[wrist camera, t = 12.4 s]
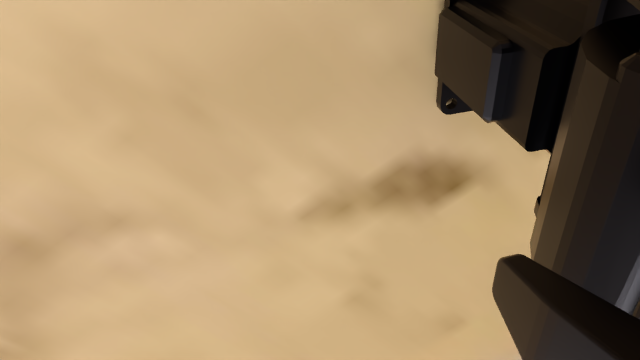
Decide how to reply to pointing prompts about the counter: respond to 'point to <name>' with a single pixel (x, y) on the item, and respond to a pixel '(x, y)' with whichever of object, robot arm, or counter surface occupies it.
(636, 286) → the robot arm
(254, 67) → the counter surface
